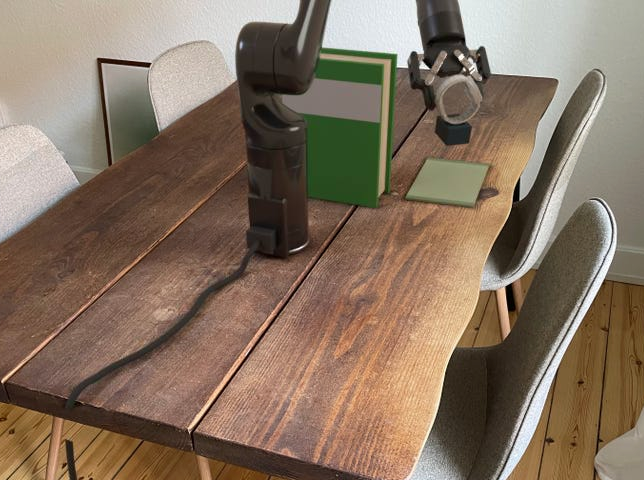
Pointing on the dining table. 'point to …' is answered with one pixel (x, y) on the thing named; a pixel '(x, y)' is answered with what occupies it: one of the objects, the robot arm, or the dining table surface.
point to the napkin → (448, 182)
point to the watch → (456, 125)
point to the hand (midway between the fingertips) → (455, 106)
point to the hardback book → (349, 125)
